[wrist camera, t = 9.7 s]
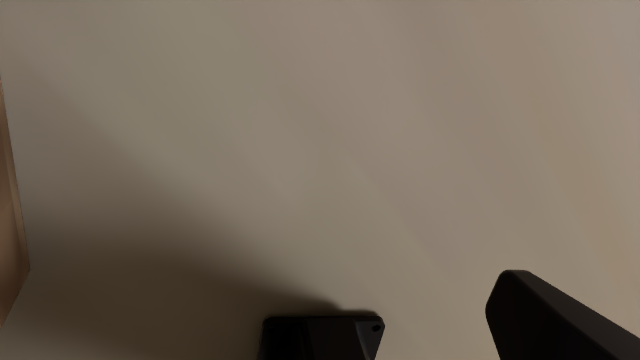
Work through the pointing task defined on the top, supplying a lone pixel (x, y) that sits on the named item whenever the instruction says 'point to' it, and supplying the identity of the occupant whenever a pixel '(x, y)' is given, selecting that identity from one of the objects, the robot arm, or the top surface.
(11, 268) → the well block
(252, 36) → the top surface
